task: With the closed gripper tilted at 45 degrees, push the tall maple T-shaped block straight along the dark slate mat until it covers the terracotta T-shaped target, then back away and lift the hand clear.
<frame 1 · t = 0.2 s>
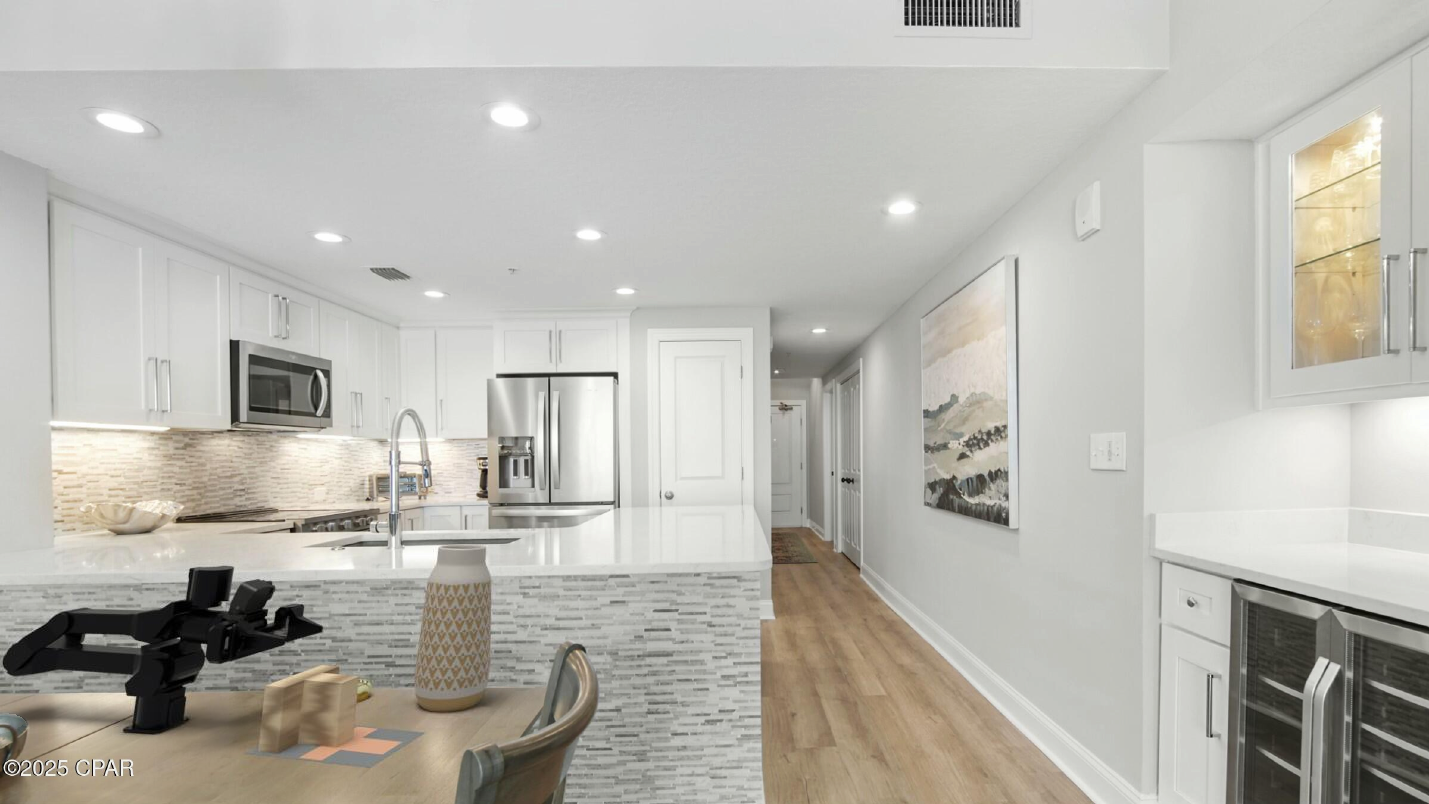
hand: (304, 635, 112), 17 cm above the table, tool horizontal, fingers open, 9 cm apart
slate mat: (338, 746, 106), on the table
maple T block: (316, 739, 107), point 1 cm above the table, touching slate mat, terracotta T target
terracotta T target: (360, 748, 105), resting on slate mat
decorated donut: (340, 702, 127), on the table
vase: (450, 706, 126), on the table
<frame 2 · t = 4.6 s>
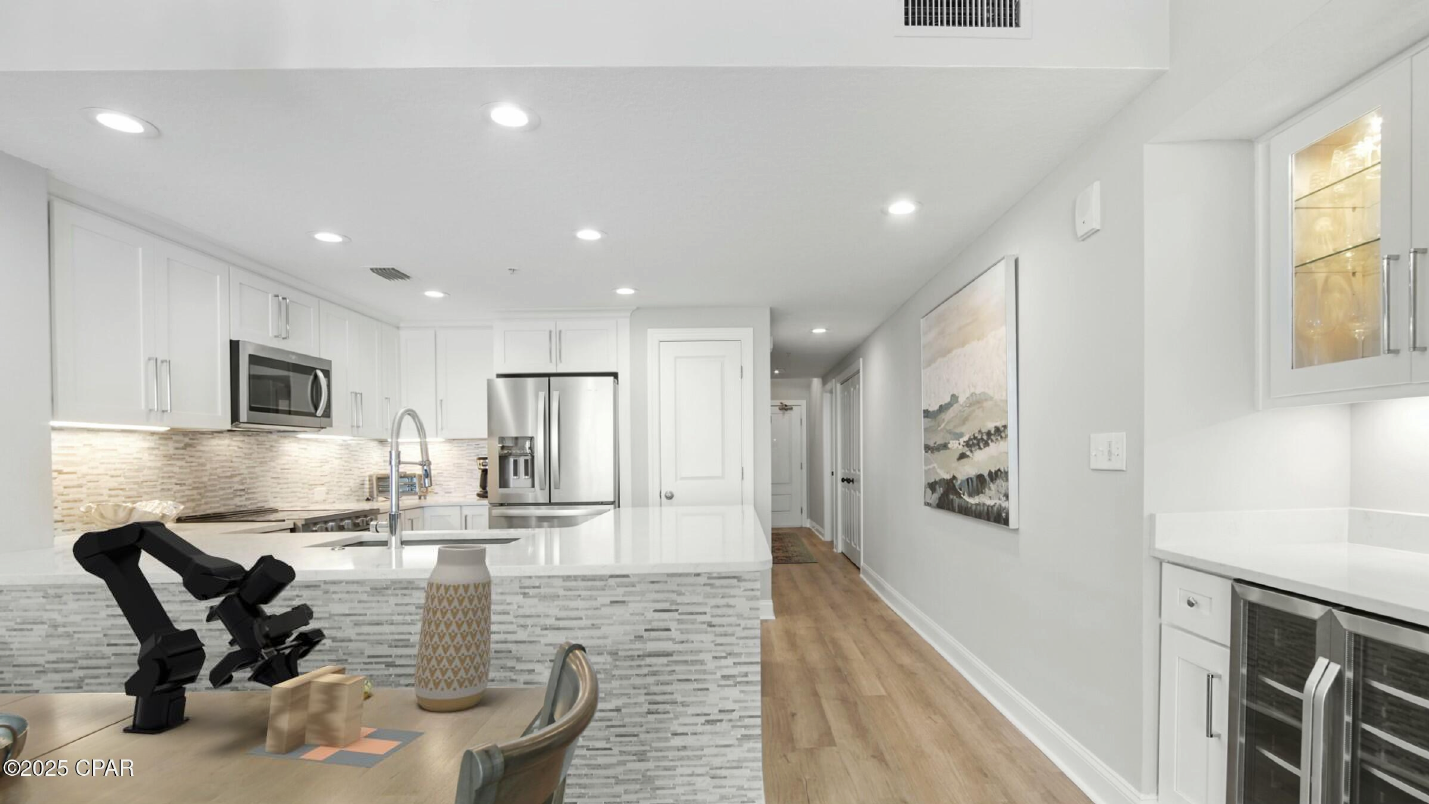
hand: (298, 694, 108), 7 cm above the table, tool tilted 45°, fingers closed, pressing on maple T block
maple T block: (323, 740, 107), point 1 cm above the table, touching gripper
everything else where it was.
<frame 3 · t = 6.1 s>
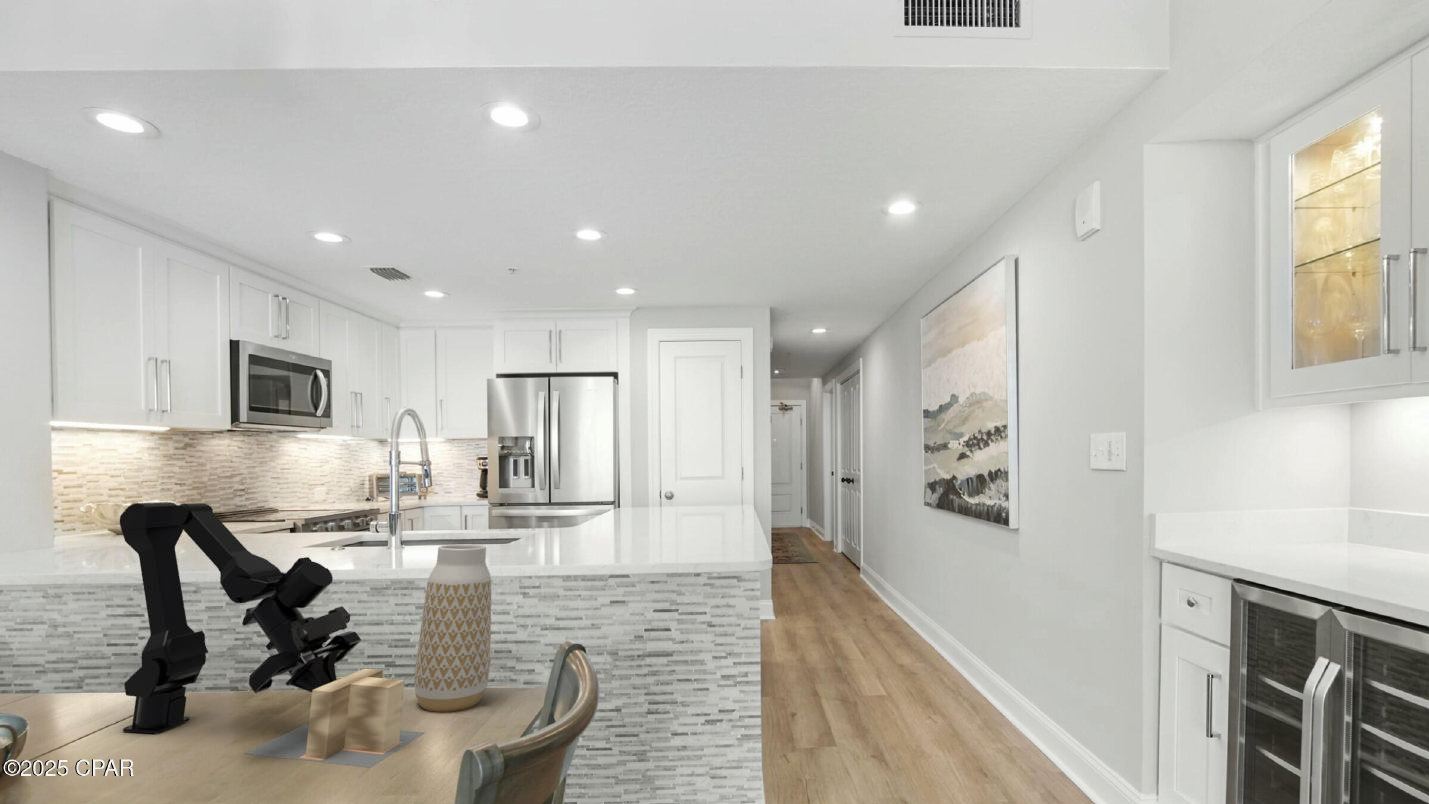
hand: (336, 698, 107), 7 cm above the table, tool tilted 45°, fingers closed, pressing on maple T block
maple T block: (362, 744, 105), point 1 cm above the table, touching gripper
everything else where it was.
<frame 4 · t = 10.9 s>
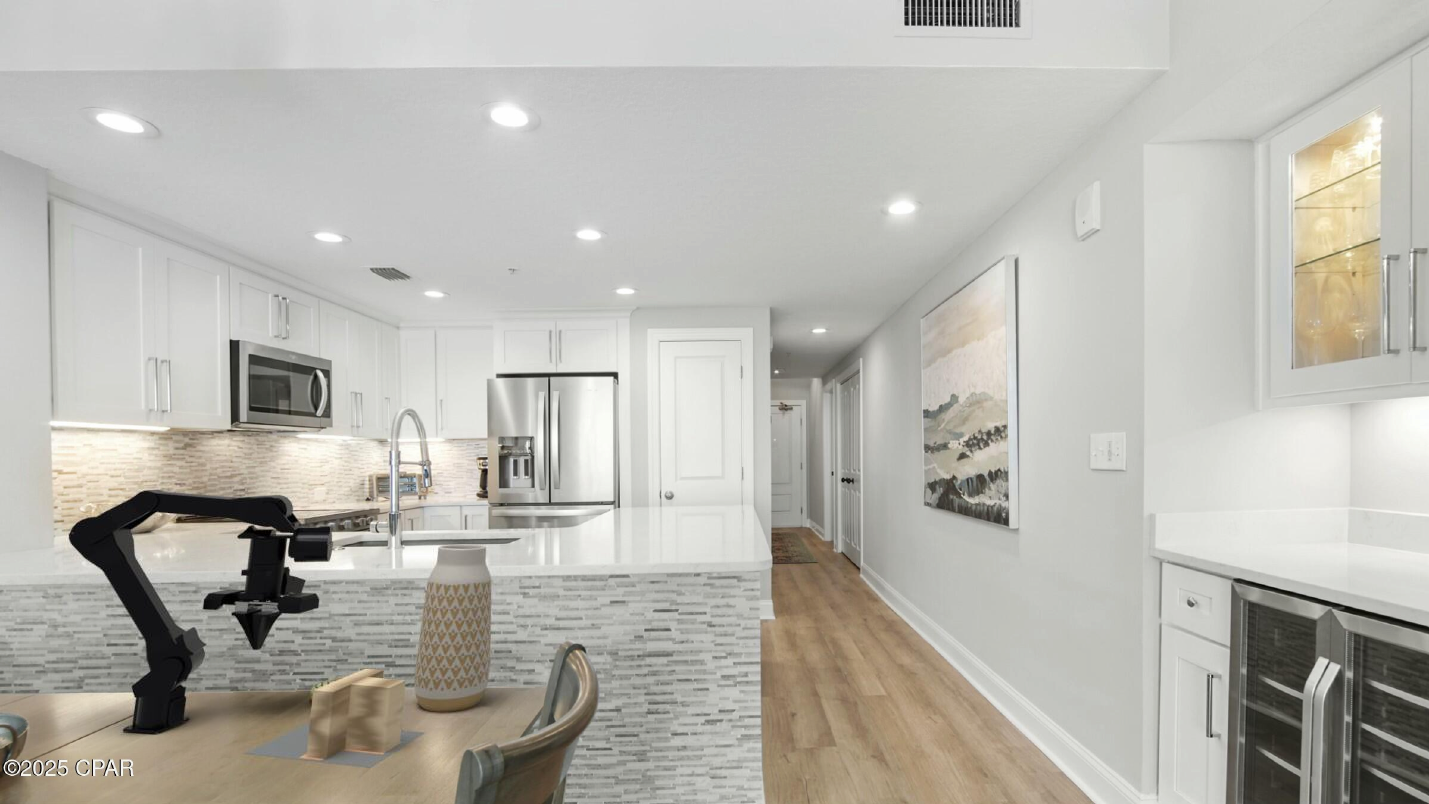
hand: (256, 649, 118), 12 cm above the table, tool pointing down, fingers closed
maple T block: (363, 744, 105), point 1 cm above the table, touching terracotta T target
everything else where it was.
at the end: maple T block 0.4 cm from the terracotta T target (horizontally); maple T block tilted 0°; maple T block moved 8.7 cm from its start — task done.
